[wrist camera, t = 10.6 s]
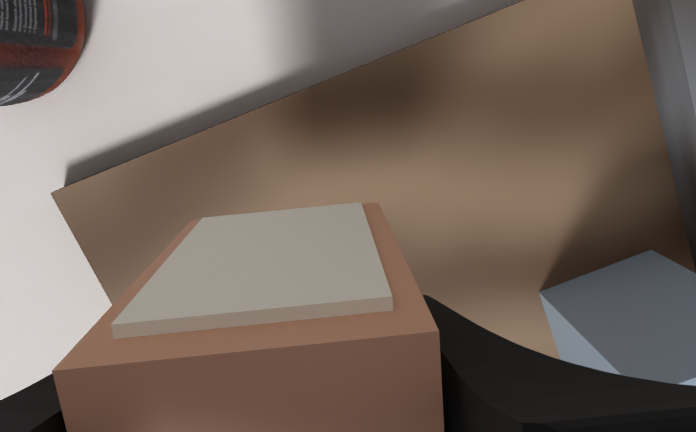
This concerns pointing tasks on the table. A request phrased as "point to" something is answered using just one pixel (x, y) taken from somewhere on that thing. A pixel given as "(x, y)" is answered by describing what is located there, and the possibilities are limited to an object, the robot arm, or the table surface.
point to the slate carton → (628, 319)
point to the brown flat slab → (452, 159)
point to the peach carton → (264, 333)
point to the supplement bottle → (38, 46)
